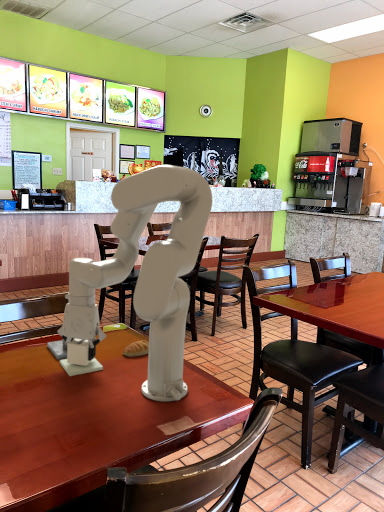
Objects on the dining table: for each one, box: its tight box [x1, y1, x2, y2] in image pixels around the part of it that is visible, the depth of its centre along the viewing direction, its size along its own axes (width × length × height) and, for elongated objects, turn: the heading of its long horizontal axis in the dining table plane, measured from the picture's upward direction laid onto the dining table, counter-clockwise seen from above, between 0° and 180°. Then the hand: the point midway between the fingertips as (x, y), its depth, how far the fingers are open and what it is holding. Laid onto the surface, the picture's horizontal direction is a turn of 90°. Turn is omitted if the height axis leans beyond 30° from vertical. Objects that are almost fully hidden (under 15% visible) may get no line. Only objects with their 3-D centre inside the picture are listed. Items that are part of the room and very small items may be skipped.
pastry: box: [122, 339, 149, 357], centre depth 136 cm, size 9×7×4 cm
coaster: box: [59, 358, 104, 377], centre depth 124 cm, size 10×10×1 cm
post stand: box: [47, 338, 75, 360], centre depth 135 cm, size 12×10×8 cm
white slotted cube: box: [66, 338, 96, 366], centre depth 123 cm, size 6×6×6 cm
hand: (81, 357), depth 123 cm, fingers closed on white slotted cube, 5 cm apart
